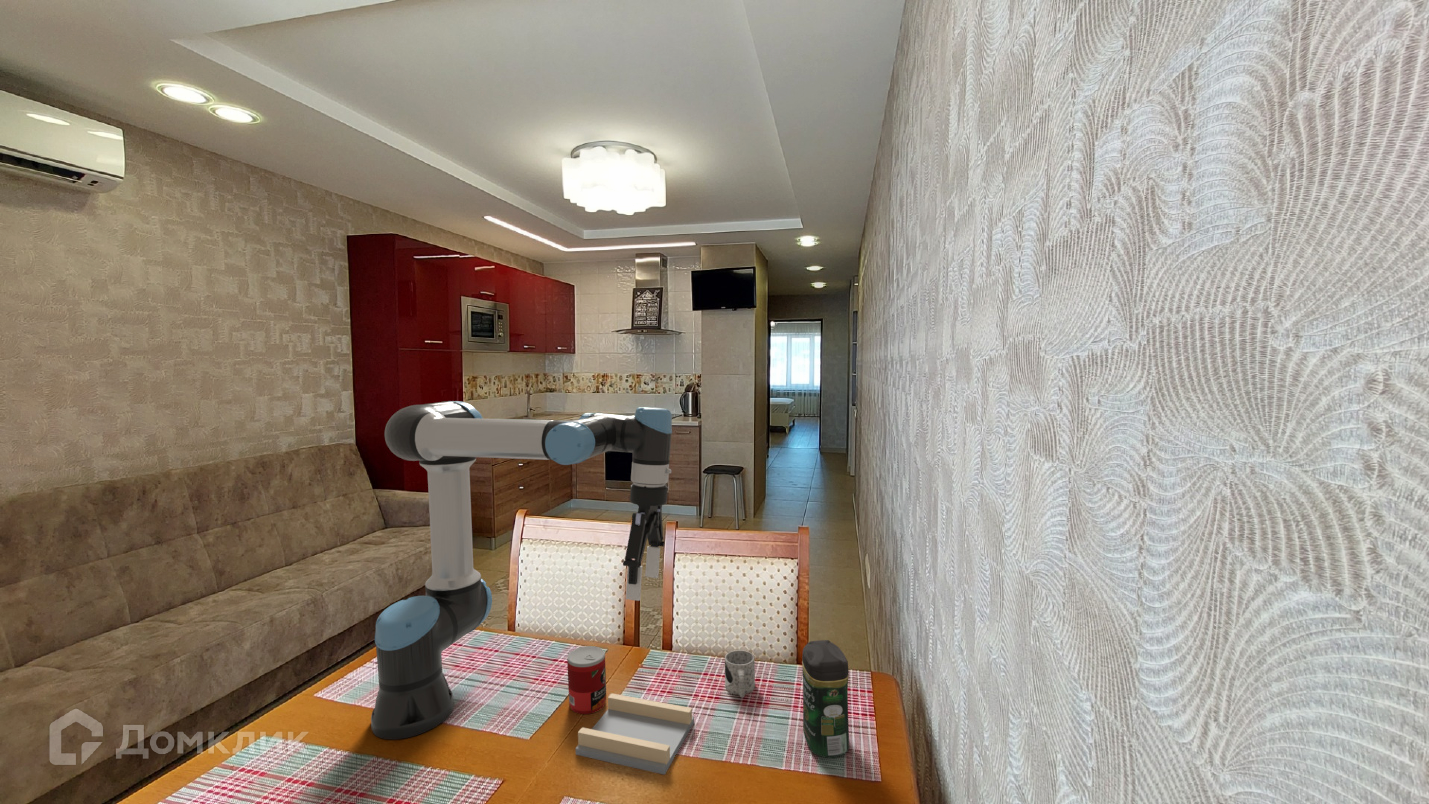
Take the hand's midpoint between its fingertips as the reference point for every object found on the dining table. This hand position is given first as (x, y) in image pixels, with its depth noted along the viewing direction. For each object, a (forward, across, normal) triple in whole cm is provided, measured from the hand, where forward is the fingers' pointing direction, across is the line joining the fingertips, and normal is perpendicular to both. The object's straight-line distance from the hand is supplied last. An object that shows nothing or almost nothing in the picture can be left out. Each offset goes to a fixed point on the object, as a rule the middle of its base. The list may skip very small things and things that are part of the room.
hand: (642, 587), depth 115 cm
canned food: (+28, +4, +11) cm, 30 cm away
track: (+27, -6, -2) cm, 28 cm away
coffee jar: (+24, -2, -38) cm, 45 cm away
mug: (+25, +13, -20) cm, 35 cm away
